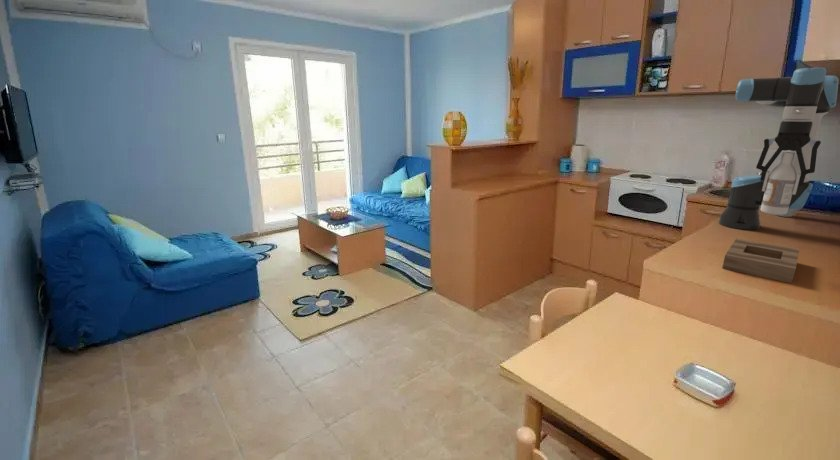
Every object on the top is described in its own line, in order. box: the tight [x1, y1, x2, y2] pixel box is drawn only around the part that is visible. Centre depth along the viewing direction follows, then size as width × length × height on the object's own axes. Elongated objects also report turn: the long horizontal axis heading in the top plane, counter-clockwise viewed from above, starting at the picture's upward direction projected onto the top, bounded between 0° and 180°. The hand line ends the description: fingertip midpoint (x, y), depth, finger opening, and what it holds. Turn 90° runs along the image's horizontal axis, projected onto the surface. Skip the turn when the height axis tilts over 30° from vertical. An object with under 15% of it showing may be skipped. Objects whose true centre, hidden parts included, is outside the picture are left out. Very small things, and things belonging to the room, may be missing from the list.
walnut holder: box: [721, 238, 800, 284], centre depth 141 cm, size 24×18×5 cm
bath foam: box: [759, 151, 797, 216], centre depth 133 cm, size 7×7×20 cm
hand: (778, 192), depth 134 cm, fingers closed on bath foam, 7 cm apart
